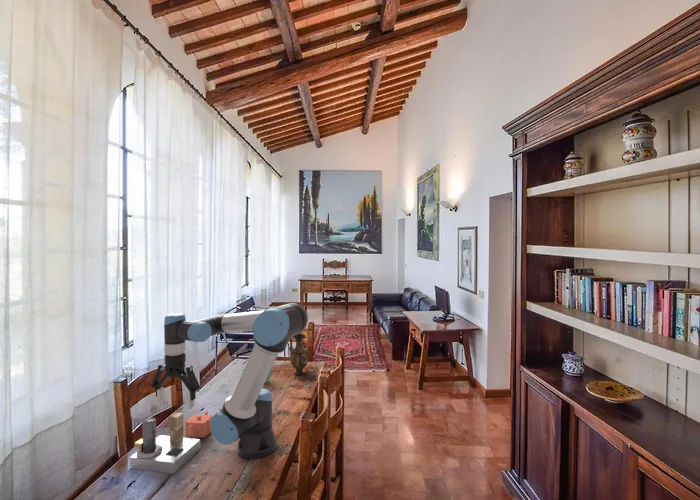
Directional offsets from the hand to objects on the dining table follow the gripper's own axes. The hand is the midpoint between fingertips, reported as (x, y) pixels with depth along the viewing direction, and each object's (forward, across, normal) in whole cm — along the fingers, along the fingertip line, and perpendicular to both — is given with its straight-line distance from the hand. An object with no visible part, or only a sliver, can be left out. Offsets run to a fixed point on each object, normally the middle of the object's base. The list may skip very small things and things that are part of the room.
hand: (175, 406), depth 148 cm
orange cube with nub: (+18, -2, -12) cm, 21 cm away
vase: (+18, -20, -91) cm, 95 cm away
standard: (+13, +4, +10) cm, 17 cm away
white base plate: (+17, 0, +6) cm, 18 cm away
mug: (+18, -2, -74) cm, 76 cm away
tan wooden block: (+13, 0, 0) cm, 13 cm away
